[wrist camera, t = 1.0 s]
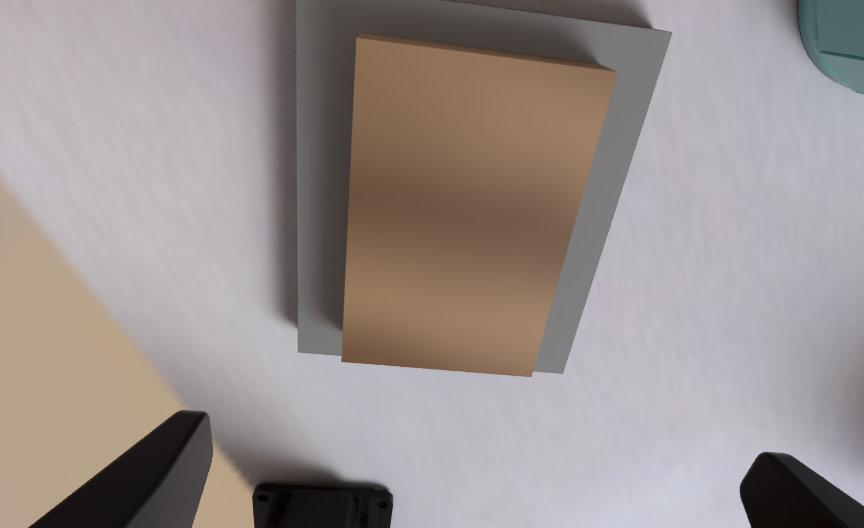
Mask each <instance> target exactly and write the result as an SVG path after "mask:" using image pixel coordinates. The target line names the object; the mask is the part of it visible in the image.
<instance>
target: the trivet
mask: <svg viewBox="0 0 864 528" xmlns="http://www.w3.org/2000/svg"><path fill="white" fill-rule="evenodd" d="M361 33H370V34H377V35H385V36H393V37H400V38H408V39H416V40H423V41H431V42H439V43H446V44H454V45H461V46H469V47H477V48H484V49H492V50H500V51H507V52H515V53H522V54H530V55H538V56H545V57H553V58H561V59H568V60H576V61H583V62H591V63H599V64H601V65H603V66H606V67H608V68H610V69H612V70H614V71H617V72H618V73H617V76H616V80H615V83H614V87H613V90H612V94H611V97H610V101H609V104H608V108H607V112H606V115H605V119H604V122H603V126H602V129H601V133H600V136H599V140H598V143H597V147H596V150H595V154H594V157H593V161H592V164H591V168H590V172H589V175H588V179H587V182H586V186H585V189H584V193H583V196H582V200H581V203H580V207H579V210H578V214H577V217H576V221H575V225H574V228H573V232H572V235H571V239H570V242H569V246H568V249H567V253H566V256H565V260H564V263H563V267H562V270H561V274H560V277H559V281H558V285H557V288H556V292H555V295H554V299H553V302H552V306H551V309H550V313H549V316H548V320H547V323H546V327H545V330H544V334H543V337H542V341H541V345H540V348H539V352H538V355H537V359H536V362H535V366H534V369H533V371H535V372H547V373H559V374H563V372H564V368H565V365H566V362H567V359H568V356H569V353H570V350H571V347H572V344H573V340H574V337H575V334H576V331H577V328H578V325H579V322H580V319H581V315H582V312H583V309H584V306H585V303H586V300H587V297H588V294H589V291H590V287H591V284H592V281H593V278H594V275H595V272H596V269H597V266H598V263H599V259H600V256H601V253H602V250H603V247H604V244H605V241H606V238H607V235H608V231H609V228H610V225H611V222H612V219H613V216H614V213H615V210H616V206H617V203H618V200H619V197H620V194H621V191H622V188H623V185H624V182H625V178H626V175H627V172H628V169H629V166H630V163H631V160H632V157H633V154H634V150H635V147H636V144H637V141H638V138H639V135H640V132H641V129H642V125H643V122H644V119H645V116H646V113H647V110H648V107H649V104H650V101H651V97H652V94H653V91H654V88H655V85H656V82H657V79H658V76H659V73H660V69H661V66H662V63H663V60H664V57H665V54H666V51H667V48H668V45H669V41H670V38H671V35H672V32H668V31H663V30H658V29H652V28H645V27H637V26H630V25H623V24H616V23H608V22H601V21H594V20H587V19H579V18H572V17H565V16H558V15H550V14H543V13H536V12H529V11H521V10H514V9H507V8H500V7H492V6H485V5H478V4H471V3H463V2H456V1H449V0H296V140H297V291H298V352H300V353H312V354H324V355H337V356H342V338H343V317H344V295H345V274H346V252H347V231H348V209H349V187H350V166H351V144H352V123H353V101H354V80H355V58H356V38H357V37H358V36H359V35H360V34H361Z"/></svg>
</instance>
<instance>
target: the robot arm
mask: <svg viewBox="0 0 864 528" xmlns="http://www.w3.org/2000/svg"><path fill="white" fill-rule="evenodd" d="M212 456H213V444H212V435H211V427H210V419H209V416H208V414H207V413H206V412H203V411H190V410H181V411H178V412H176V413H175V414H173V415H172V416H171V417H169V418H168V419H167V420H166V421H164V422H163V423H162V424H161V425H159V426H158V427H157V428H155V429H154V430H153V431H152V432H151V433H149V434H148V435H147V436H145V437H144V438H143V439H141V440H140V441H139V442H137V443H136V444H135V445H134V446H132V447H131V448H130V449H128V450H127V451H126V452H125V453H123V454H122V455H121V456H119V457H118V458H117V459H116V460H114V461H113V462H112V463H110V464H109V465H108V466H107V467H105V468H104V469H103V470H102V471H100V472H99V473H98V474H97V475H95V476H94V477H93V478H91V479H90V480H89V481H87V482H86V483H85V484H84V485H82V486H81V487H80V488H78V489H77V490H76V491H75V492H74V493H72V494H71V495H70V496H68V497H67V498H66V499H64V500H63V501H62V502H61V503H59V504H58V505H57V506H55V507H54V508H53V509H51V510H50V511H49V512H48V513H46V514H45V515H44V516H43V517H41V518H40V519H39V520H37V521H36V522H35V523H34V524H32V525H31V526H30V527H28V528H192V524H193V521H194V518H195V515H196V512H197V508H198V505H199V502H200V498H201V495H202V492H203V489H204V485H205V482H206V479H207V475H208V472H209V469H210V466H211V462H212ZM740 497H741V500H742V503H743V506H744V509H745V511H746V514H747V517H748V520H749V523H750V525H751V528H864V506H863V505H861V504H860V503H859V502H857V501H856V500H854V499H853V498H851V497H850V496H849V495H847V494H846V493H844V492H843V491H841V490H840V489H839V488H837V487H836V486H834V485H833V484H831V483H830V482H829V481H827V480H826V479H824V478H823V477H821V476H820V475H819V474H817V473H816V472H814V471H813V470H811V469H810V468H809V467H807V466H806V465H804V464H803V463H801V462H800V461H799V460H797V459H796V458H794V457H793V456H791V455H789V454H785V453H776V452H763V453H761V454H759V455H758V456H757V458H756V459H755V461H754V462H753V464H752V466H751V467H750V469H749V470H748V472H747V474H746V475H745V477H744V478H743V480H742V482H741V484H740ZM252 501H253V514H254V526H255V528H390V524H391V516H392V509H393V495H392V494H391V493H390V492H388V491H381V490H365V489H348V488H332V487H315V486H299V485H282V484H266V483H265V484H259V485H257V486H256V487H255V490H254V493H253V496H252Z"/></svg>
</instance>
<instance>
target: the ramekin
mask: <svg viewBox="0 0 864 528" xmlns="http://www.w3.org/2000/svg"><path fill="white" fill-rule="evenodd" d="M798 19H799V27H800V33H801V37H802V40H803V43H804V46H805V49H806V51H807V53H808V55H809V57H810V58H811V60H812V61H813V63H814V64H815V65H816V67H817V68H818V69H819V70H820V71H821V72H822V73H823V74H824V75H825V76H827V77H828V78H830V79H831V80H833V81H834V82H836V83H838V84H841V85H843V86H846V87H848V88H851V89H852V90H853V91H856V92H857V93H861V94H864V0H798Z"/></svg>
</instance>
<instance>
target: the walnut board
mask: <svg viewBox="0 0 864 528" xmlns="http://www.w3.org/2000/svg"><path fill="white" fill-rule="evenodd" d="M617 73H618V72H617V71H614V70H612V69H610V68H608V67H606V66H603V65H601V64H599V63H591V62H583V61H576V60H568V59H561V58H553V57H545V56H538V55H530V54H522V53H515V52H507V51H500V50H492V49H484V48H477V47H469V46H461V45H454V44H446V43H439V42H431V41H423V40H416V39H408V38H400V37H393V36H385V35H377V34H370V33H361V34H360V35H359V36H358V37H357V38H356V58H355V80H354V101H353V123H352V144H351V166H350V187H349V209H348V231H347V252H346V274H345V295H344V317H343V338H342V360H341V362H350V363H363V364H375V365H388V366H400V367H413V368H425V369H438V370H450V371H463V372H475V373H488V374H500V375H513V376H525V377H531V376H532V373H533V369H534V366H535V362H536V359H537V355H538V352H539V348H540V345H541V341H542V337H543V334H544V330H545V327H546V323H547V320H548V316H549V313H550V309H551V306H552V302H553V299H554V295H555V292H556V288H557V285H558V281H559V277H560V274H561V270H562V267H563V263H564V260H565V256H566V253H567V249H568V246H569V242H570V239H571V235H572V232H573V228H574V225H575V221H576V217H577V214H578V210H579V207H580V203H581V200H582V196H583V193H584V189H585V186H586V182H587V179H588V175H589V172H590V168H591V164H592V161H593V157H594V154H595V150H596V147H597V143H598V140H599V136H600V133H601V129H602V126H603V122H604V119H605V115H606V112H607V108H608V104H609V101H610V97H611V94H612V90H613V87H614V83H615V80H616V76H617Z"/></svg>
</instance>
